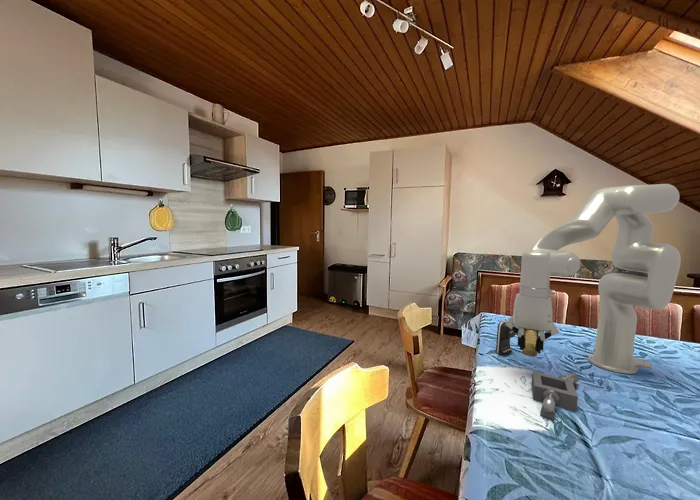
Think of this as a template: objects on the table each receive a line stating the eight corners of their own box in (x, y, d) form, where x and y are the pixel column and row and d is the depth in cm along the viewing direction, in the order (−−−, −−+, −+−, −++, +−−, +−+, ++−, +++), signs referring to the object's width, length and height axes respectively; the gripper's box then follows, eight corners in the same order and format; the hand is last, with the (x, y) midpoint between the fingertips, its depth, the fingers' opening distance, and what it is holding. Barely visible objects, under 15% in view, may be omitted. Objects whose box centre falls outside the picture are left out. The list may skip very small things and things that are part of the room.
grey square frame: (570, 394, 81) (571, 380, 81) (576, 412, 73) (577, 396, 73) (531, 384, 86) (532, 371, 85) (533, 400, 78) (534, 385, 77)
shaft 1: (541, 402, 77) (543, 386, 76) (558, 408, 75) (560, 392, 74) (538, 415, 71) (539, 398, 71) (555, 422, 69) (557, 405, 69)
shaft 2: (568, 395, 81) (570, 380, 80) (554, 389, 84) (555, 374, 83) (580, 388, 84) (582, 374, 84) (566, 382, 87) (567, 369, 87)
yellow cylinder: (536, 352, 92) (538, 327, 91) (537, 357, 88) (539, 332, 87) (521, 349, 93) (523, 325, 93) (522, 354, 90) (523, 329, 89)
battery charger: (505, 356, 104) (508, 325, 103) (494, 352, 107) (497, 322, 106) (515, 352, 108) (517, 322, 107) (504, 348, 111) (507, 319, 110)
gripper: (565, 292, 88) (561, 351, 90) (503, 286, 96) (500, 340, 98) (569, 298, 82) (564, 361, 83) (502, 291, 90) (498, 348, 91)
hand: (529, 349), depth 91 cm, fingers closed on yellow cylinder, 4 cm apart
